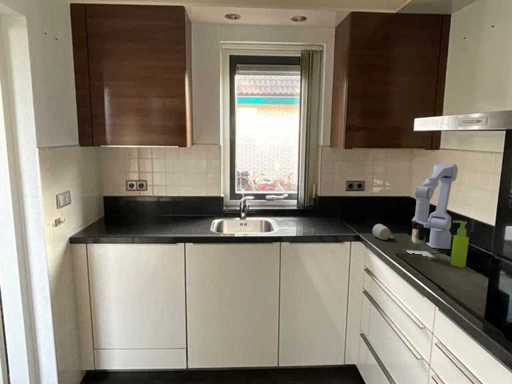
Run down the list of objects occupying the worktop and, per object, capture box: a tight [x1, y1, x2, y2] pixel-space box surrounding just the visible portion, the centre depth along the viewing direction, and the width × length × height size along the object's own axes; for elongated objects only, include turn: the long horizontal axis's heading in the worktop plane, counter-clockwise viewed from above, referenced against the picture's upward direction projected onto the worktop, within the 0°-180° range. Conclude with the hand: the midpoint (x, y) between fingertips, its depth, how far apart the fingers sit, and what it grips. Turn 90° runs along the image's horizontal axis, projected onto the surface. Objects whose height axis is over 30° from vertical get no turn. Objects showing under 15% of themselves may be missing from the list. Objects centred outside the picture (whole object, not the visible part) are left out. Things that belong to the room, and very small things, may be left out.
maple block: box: [411, 228, 426, 245], centre depth 163 cm, size 4×4×6 cm
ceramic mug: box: [372, 223, 394, 241], centre depth 192 cm, size 11×8×8 cm
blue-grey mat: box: [405, 249, 435, 258], centre depth 165 cm, size 14×12×1 cm
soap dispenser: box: [450, 220, 470, 268], centre depth 151 cm, size 6×7×20 cm
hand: (419, 238), depth 164 cm, fingers closed on maple block, 4 cm apart
